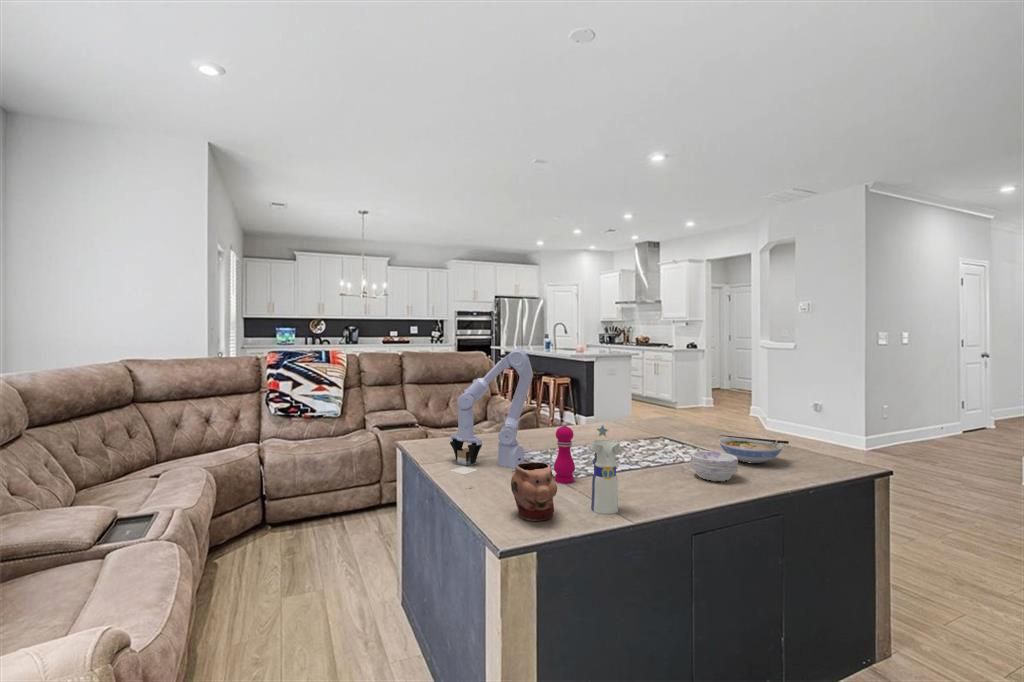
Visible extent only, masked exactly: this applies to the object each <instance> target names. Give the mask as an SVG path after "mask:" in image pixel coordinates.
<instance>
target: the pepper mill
mask: <svg viewBox="0 0 1024 682" xmlns="http://www.w3.org/2000/svg"><path fill="white" fill-rule="evenodd" d="M555 438H556V439H557V441H556V443H557V444H556V445H557V446H558V451H557V452H558V453H557V457H556V459H555V461H554V462H553V463H554V464H553V470H554V473H556V474H555V475H554V480H555V482H556V481H557V483H560V484H570V483H573V482H574V479H575V478H574V474H573V473H574V472H575V471H576V464H575V462H574V460H573V456H572V454H571V447H572V445H573V444H572V443H573V441H572V440H573V438H574V431H573V429H572V428H571V427H570V426H568V423H567V422H566V421H564V422H562V423H561V426H560V427H558V428H557V429H556V432H555Z"/></svg>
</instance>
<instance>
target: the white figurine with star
mask: <svg viewBox="0 0 1024 682" xmlns="http://www.w3.org/2000/svg"><path fill="white" fill-rule="evenodd" d="M596 430H597V431H598V432H599V433H598V437H601V436H604V437H607V434H606V433H607V432H608V431H609V429H608V428H605V427H604V424H602V425H601V426H600V427H599V428H596ZM590 450H591V451H592V452H593V453H594V459H593V461H592V464H593V475H592V479H591V502H590V503H591V504H590V509H591V510H592V512H594V513H597V514H602V515H612V514H616V513H618V512H619V497H618V495H619V494H618V487H619V486H618V484H619V483H618V477H617V465H618V462H617V460H616V456H618V455H619V454H620V453H621V451H622V448H621V446H620V443H619V442H618V441H617V440H613V439H609V438H608V439H606V438H605V439H603V438H600V439H594V440H592V443H591V444H590Z"/></svg>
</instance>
